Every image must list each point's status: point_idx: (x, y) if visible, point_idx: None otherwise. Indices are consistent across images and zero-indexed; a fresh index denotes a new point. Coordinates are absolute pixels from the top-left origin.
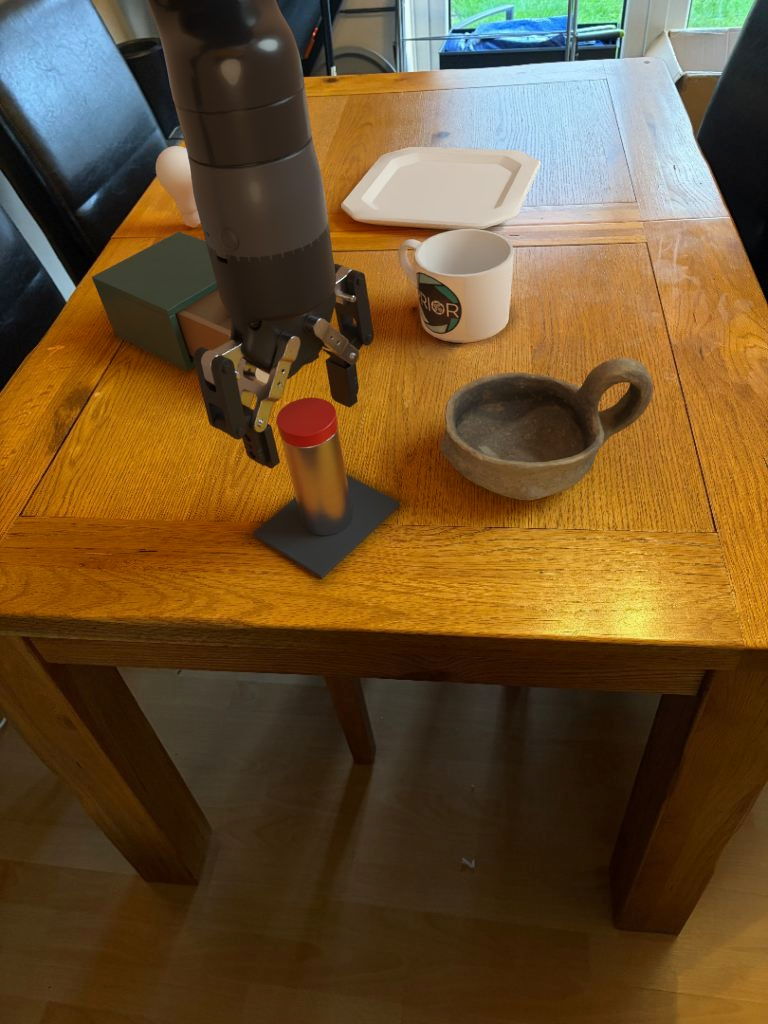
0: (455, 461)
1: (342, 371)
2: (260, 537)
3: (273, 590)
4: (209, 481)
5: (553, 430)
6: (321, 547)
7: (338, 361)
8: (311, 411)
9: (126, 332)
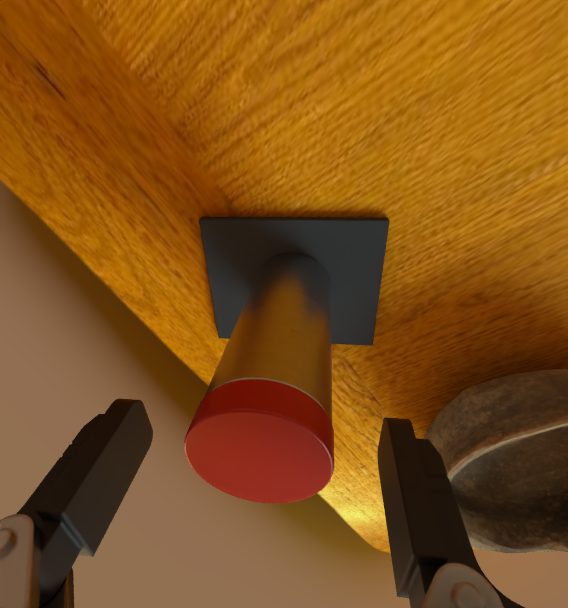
0: (441, 429)
1: (397, 569)
2: (202, 235)
3: (170, 300)
4: (225, 5)
5: None
6: None
7: (414, 594)
8: (277, 463)
9: None
